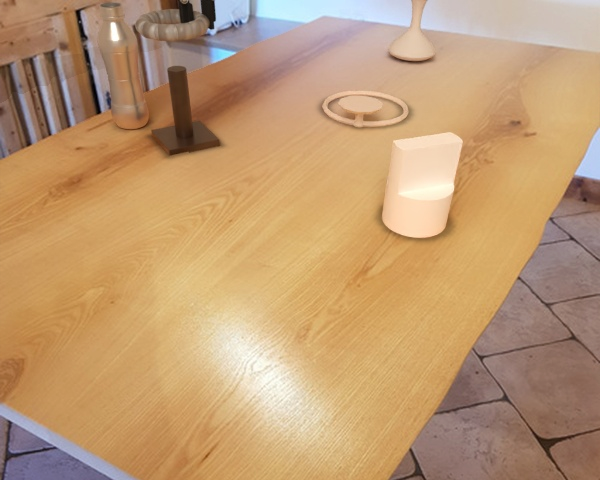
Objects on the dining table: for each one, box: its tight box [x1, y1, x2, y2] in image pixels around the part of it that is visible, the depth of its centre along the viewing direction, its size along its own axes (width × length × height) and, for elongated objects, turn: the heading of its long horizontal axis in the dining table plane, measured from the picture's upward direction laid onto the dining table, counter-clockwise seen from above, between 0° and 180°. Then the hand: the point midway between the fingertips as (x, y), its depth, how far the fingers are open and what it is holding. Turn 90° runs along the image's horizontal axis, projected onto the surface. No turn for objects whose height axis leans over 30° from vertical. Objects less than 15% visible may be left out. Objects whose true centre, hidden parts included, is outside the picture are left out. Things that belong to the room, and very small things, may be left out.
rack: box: [150, 65, 221, 157], centre depth 91 cm, size 9×9×12 cm
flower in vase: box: [387, 0, 436, 62], centre depth 125 cm, size 13×11×25 cm
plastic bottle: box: [96, 1, 150, 130], centre depth 94 cm, size 6×7×20 cm
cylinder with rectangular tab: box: [381, 131, 464, 239], centre depth 73 cm, size 9×9×12 cm
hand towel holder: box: [321, 89, 409, 128], centre depth 105 cm, size 17×4×21 cm
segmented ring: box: [134, 8, 210, 42], centre depth 83 cm, size 11×11×2 cm
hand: (198, 27), depth 85 cm, fingers closed on segmented ring, 2 cm apart
